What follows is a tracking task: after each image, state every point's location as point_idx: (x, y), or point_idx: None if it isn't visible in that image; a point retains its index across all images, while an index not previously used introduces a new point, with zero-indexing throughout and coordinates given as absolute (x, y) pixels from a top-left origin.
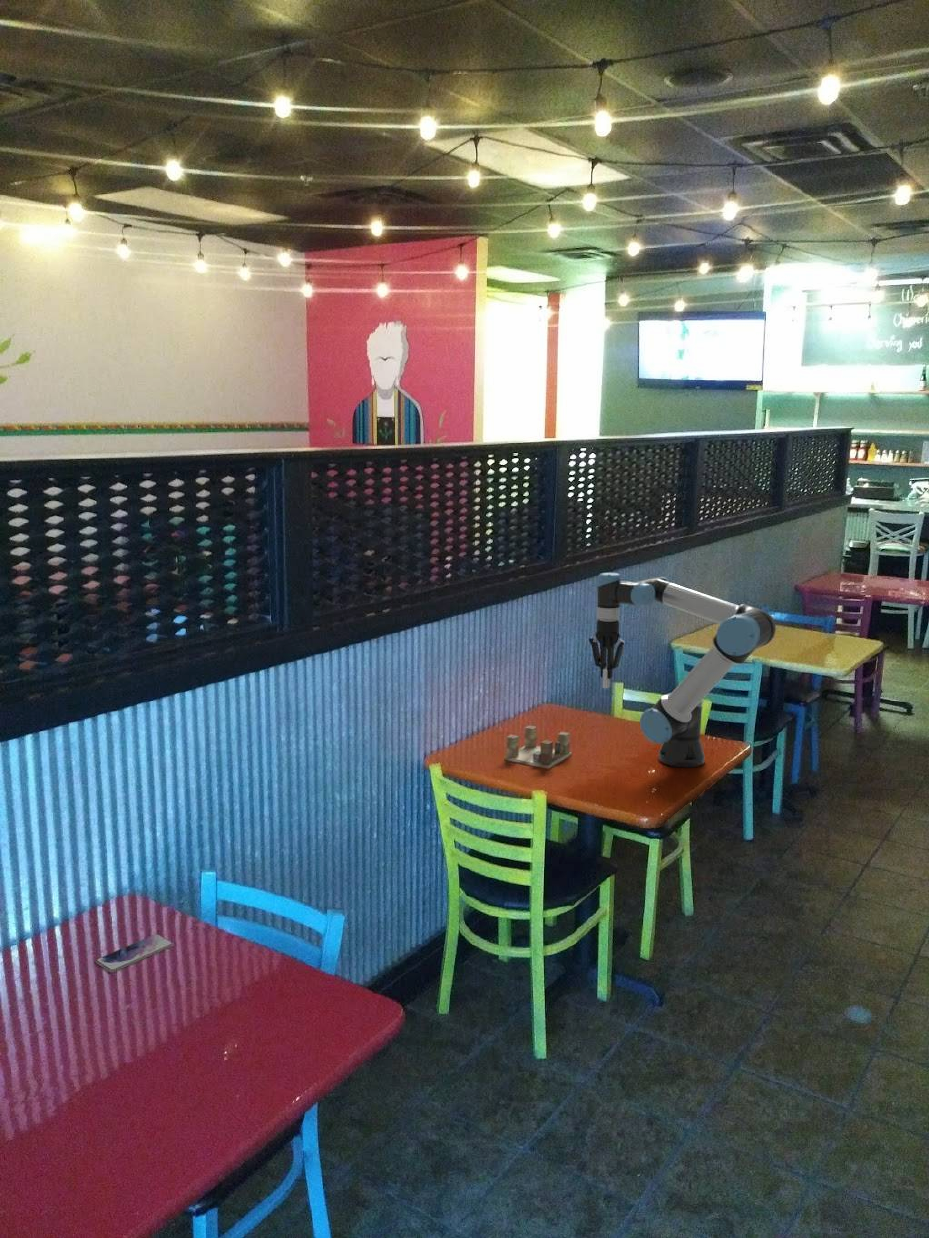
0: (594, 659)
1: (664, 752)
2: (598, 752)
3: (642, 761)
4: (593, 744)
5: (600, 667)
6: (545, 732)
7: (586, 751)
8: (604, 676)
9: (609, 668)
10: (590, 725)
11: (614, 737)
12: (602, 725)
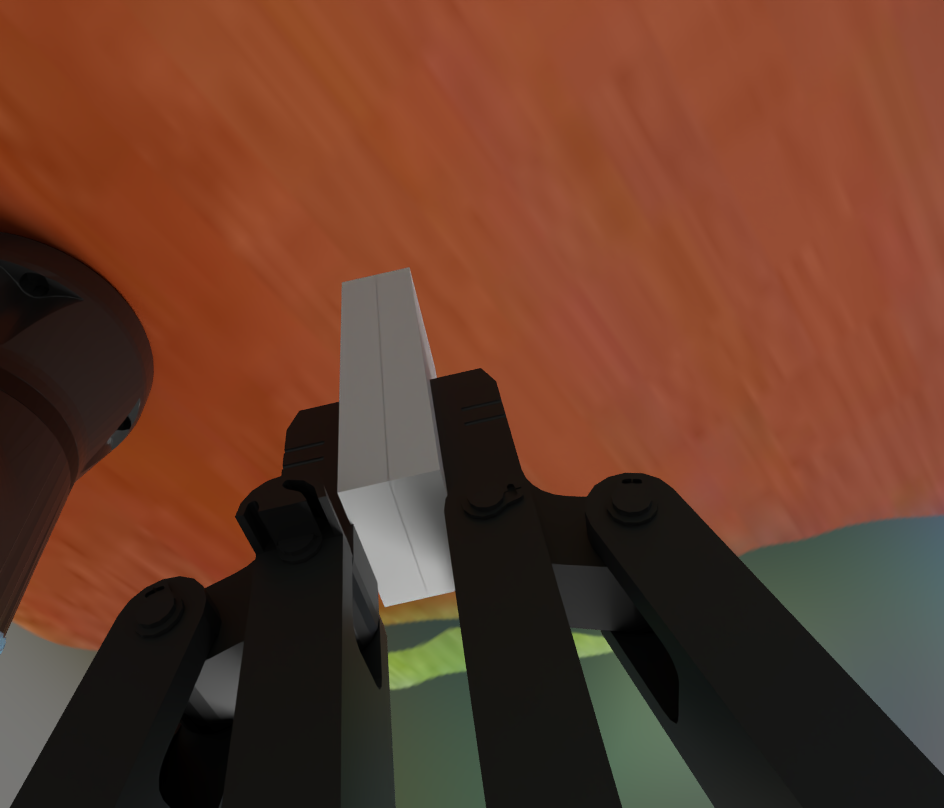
0: (762, 592)
1: (40, 300)
2: (440, 114)
3: (128, 174)
4: (551, 218)
5: (512, 480)
6: (890, 191)
7: (511, 71)
8: (389, 382)
9: (277, 540)
10: (715, 434)
11: (525, 385)
12: (666, 469)
